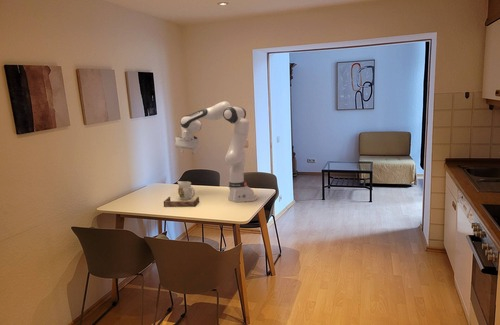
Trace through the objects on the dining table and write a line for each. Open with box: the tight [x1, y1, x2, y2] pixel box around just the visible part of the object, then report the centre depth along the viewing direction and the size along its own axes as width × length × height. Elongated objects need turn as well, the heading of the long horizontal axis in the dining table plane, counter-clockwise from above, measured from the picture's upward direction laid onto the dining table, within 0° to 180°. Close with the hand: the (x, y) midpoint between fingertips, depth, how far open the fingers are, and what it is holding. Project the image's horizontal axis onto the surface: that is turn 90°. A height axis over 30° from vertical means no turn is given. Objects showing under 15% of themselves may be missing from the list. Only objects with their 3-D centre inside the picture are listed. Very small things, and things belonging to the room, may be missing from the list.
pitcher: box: [176, 180, 196, 201], centre depth 303 cm, size 11×18×14 cm, turn 56°
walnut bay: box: [163, 196, 200, 208], centre depth 291 cm, size 24×13×4 cm, turn 84°
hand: (187, 153), depth 305 cm, fingers open, 8 cm apart
